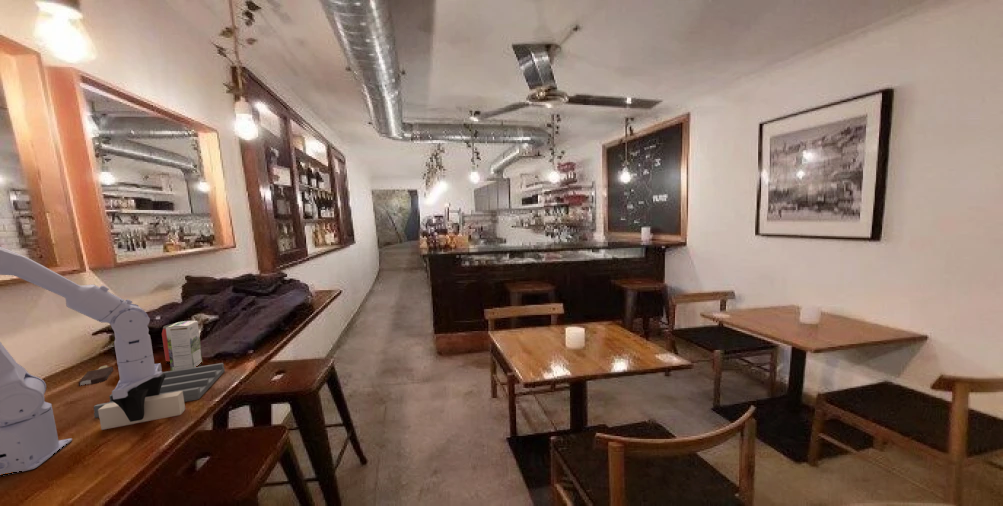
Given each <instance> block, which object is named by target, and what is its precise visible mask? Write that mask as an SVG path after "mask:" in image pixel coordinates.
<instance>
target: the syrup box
mask: <svg viewBox="0 0 1003 506" xmlns="http://www.w3.org/2000/svg"><path fill="white" fill-rule="evenodd" d="M172 324H173V325H171V326H169V327H167V328H166V334H167V342H168V351H169V359H170V363H169V364H170V371H173V370H180V369H186V368H193V367H196V366H198V365H199V364H200V363H201V362H202V363H203V356H202V347H201V336H200V329H199V321H198V320H184V321H183V320H182V321H178V322H175V324H174V323H172ZM200 365H201V364H200ZM200 365H199V366H200ZM199 366H198V367H199Z"/></svg>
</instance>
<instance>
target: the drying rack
mask: <svg viewBox="0 0 1003 506" xmlns="http://www.w3.org/2000/svg"><path fill="white" fill-rule="evenodd" d="M225 371H226V368H225V367H224V362H219V363H213V364H208V365H199V366H198V367H193V368H186V369H180V370H173V371H171V370H168V371H167V370H166V371H162V374H163V373H164V374H165V375H166V377H165V379H164V381H163V383H162V386H161V389H160V394H159V395H161V394H167V393H173V392H178V391H183V397H184V403H185V402H191V401H197V400H199V399H201V397H203V395H204V394H206V392H207V391H208V390H209V389H210V388H211V387H212V386H213V384H215V382H216V381H217V380H218V379H219V378H220V377H221V376H222V375H223V374H224V373H225ZM111 396H112V393H111V394H110V395H109V396H108V397H109V401H108V402H103V403H99V404H98V403H97V404H96V405H94V406H93V411H94V412H93V416H94V418H95V419H96V418H99V413H98V409H100V408H101V407H102V406H104V405H105V404H109V403H114V402H113V401H111Z"/></svg>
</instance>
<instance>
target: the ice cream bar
mask: <svg viewBox="0 0 1003 506" xmlns="http://www.w3.org/2000/svg"><path fill="white" fill-rule="evenodd" d="M113 371H114V367H113V366H109V365H107V364H106V365H102V366H100V367H99V368H98V369H94V370H93V369H92V370H89V371H86V372H85V374H84V376H82V378H81V379H80V380H79V381H78V387H82V386H85V384H86V385H95V384H99V382H100V383H103V382H105V380H106V381H107V380H108V378H109V377H110V376H111V374H112V373H113ZM111 372H112V373H111ZM109 375H110V376H109ZM81 385H82V386H81Z"/></svg>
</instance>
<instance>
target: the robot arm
mask: <svg viewBox="0 0 1003 506" xmlns="http://www.w3.org/2000/svg"><path fill="white" fill-rule="evenodd" d="M0 275H1V276H3V275H4V276H13V277H17V278H19V279H21V280H23V281H26V282H28V283H31V284H33V285H35V286H38V287H39V288H42V289H44V290H47V291H49V292H51V293H54V294H56V295H58V296H60V297H62V298H64V299H65V305H66V307H67V308H69V309H71V310H73V311H75V312H76V313H79V314H82V315H84V316H86V317H88V318H91V319H93V320H95V321H97V322H99V323H100V324H101V323H102V324H103V323H106V324H109V325H110V327H111V330H113V332H114V342H113V343H114V350H115V355H116V363H117V368H118V369H117V370H118V375H119V380H118V382H117V384H116V386H115V388H114V389H113V390H111V394H112V396H111V401H113V402H114V403H116V404H117V405H118V406H119V407H121V409H122V410H123V411H124V413H125V414H126V416H127V418H128V419H129V421H130V422H133V421H138V420H142V419H143V418H144V402H145V397H150V396H155V395H159V394H160V389H161V386H162V383H163V381H164V379H165V377H166V375H165V374H164V373H163V374H162V372H163V370H162V369H163V368H162V364H161V362H160V363H155V359H154V353H153V352H154V351H153V346H152V345H153V344H152V339H151V335H150V334H149V331H150V329H149V324H150V322H151V319H150V317H149V315H148V313H147V312H146V311H145V309H143V308H142V307H140V306H139V305H138V304H137V303H135V304H134V303H133V300H131V299H129V298H127V299H126V300H125V299H124V298H121V297H120V296H119V295H116V294H113V293H112V292H110V288H109V287H107V286H105V285H101V286H99V285H96V284H86V285H85V284H83V285H81V284H78V283H76V282H75V281H73V280H71V279H68V278H67V277H65V276H64V275H61V274H60V273H57V272H56V271H54V270H53V269H50V268H48V267H46V266H45V265H43V264H41V263H39V262H37V261H35V260H33V259H31V258H30V257H28V256H25V255H23V254H21V253H18V252H16V251H13V250H10V249H8V248H5V247H3V246H0ZM46 391H47V384H46V382H45V380H43V379H42V378H40V377H39V376H36V375H33V374H31V373H30V372H28V371H27V370H26V368H25V367H24V366H22V365H21V364H19V363H18V362H17V361H16V360H15V358H14V357H13V355H11V353H10V352H9V351H8V350H7V348H6V347H5V345H4V344H2V342H1V341H0V475H1V474H5V473H11V472H17V473H20V472H19V471H22V472H26V471H31V470H34V469H36V468H38V467H39V466H41V465H42V464H43V463H45V462H46V461H47V460H49V458H51V457H52V456H53V454H54V453H55V454H56V453H58V452H59V451H60V450H62V449H63V448H64V447H66V446H67V445H68V444H69V443H71V442H72V441H73V438H70V437H69V438H65V439H59V437H58V436H59V435H58V431H57V426H56V420H55V415H54V409H53V406H52V405H53V404H52V403H50V402H47V401H45V393H46ZM66 444H67V445H66ZM63 446H64V447H63ZM62 447H63V448H62ZM59 449H60V450H59ZM58 450H59V451H58ZM57 451H58V452H57ZM55 454H54V455H55Z"/></svg>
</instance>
